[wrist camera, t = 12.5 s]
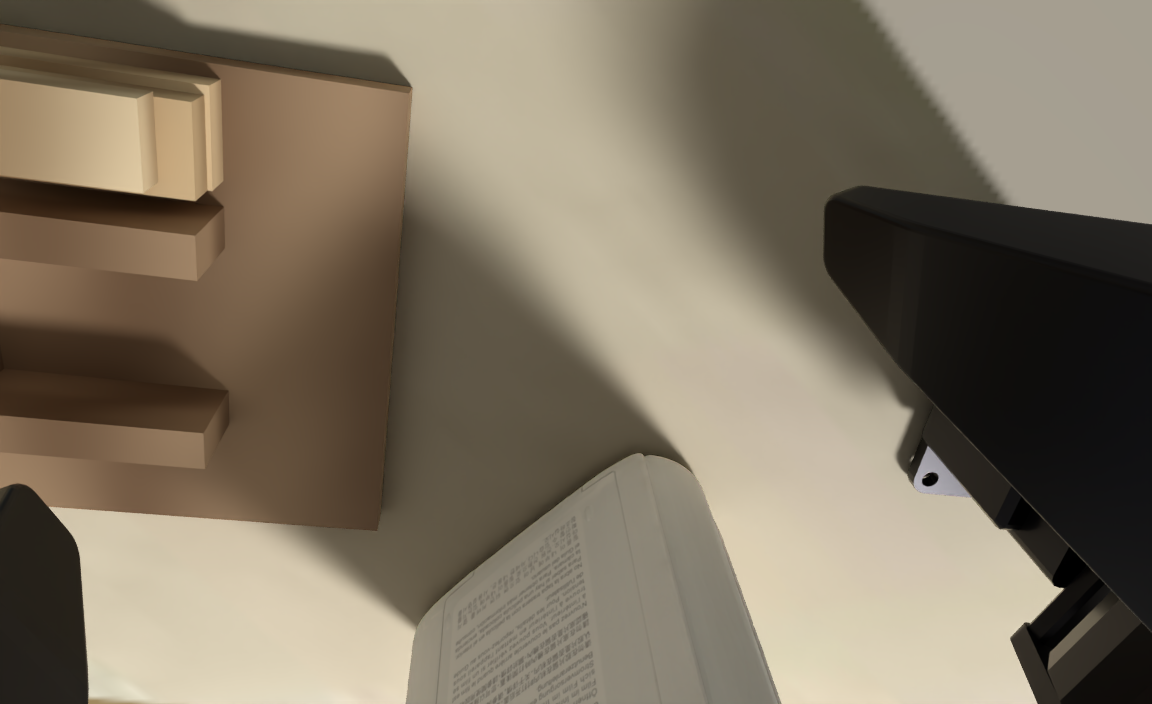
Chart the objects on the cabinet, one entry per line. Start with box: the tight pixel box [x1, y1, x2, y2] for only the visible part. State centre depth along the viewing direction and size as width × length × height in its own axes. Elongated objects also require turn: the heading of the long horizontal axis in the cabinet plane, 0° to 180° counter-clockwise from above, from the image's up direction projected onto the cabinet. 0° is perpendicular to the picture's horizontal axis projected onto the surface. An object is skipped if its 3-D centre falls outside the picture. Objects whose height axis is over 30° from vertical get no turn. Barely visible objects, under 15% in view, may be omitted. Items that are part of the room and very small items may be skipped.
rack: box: [0, 24, 412, 531], centre depth 19 cm, size 11×12×4 cm
